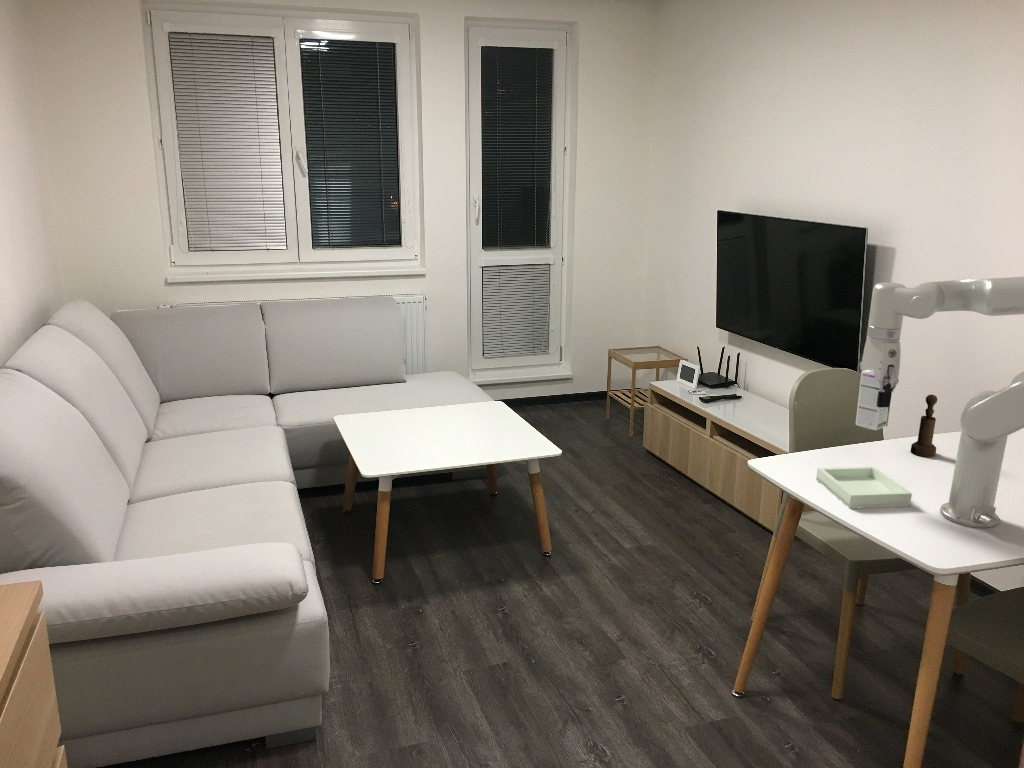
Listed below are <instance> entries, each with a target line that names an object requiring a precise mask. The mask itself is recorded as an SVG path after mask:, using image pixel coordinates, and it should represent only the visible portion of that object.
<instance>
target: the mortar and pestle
mask: <svg viewBox="0 0 1024 768" xmlns="http://www.w3.org/2000/svg"><path fill="white" fill-rule="evenodd" d="M925 402H926V405H927V408H925V415H921V417H920V422H919V429H918V436H917V441H915V442H913V443H911V446H910V453H911V454H913V455H915V456H918V457H923V458H925V457H926V458H933V457H935V456H936V453H937V447H936V446H935V445H934V444H933V439H934V433H935V426H936V421H937V418H936V417H934V416H933V415H934V413H935V409H934V406H935V405H936V404H937V403H938V397H937V396H936V395H935V394H928V395H927V396H925Z"/></svg>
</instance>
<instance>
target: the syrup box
mask: <svg viewBox="0 0 1024 768" xmlns="http://www.w3.org/2000/svg"><path fill="white" fill-rule="evenodd" d="M860 379H861V380H860V381H859V389H858V390H859V391H858V398H857V409H856V417H855V425H856V426H859V427H861V428H864V429H868V430H873V431H878V430H880V429H882V428H885V427H888V425H889V424H888V423H889V416H890V409H891V406H890V407H877V399H878V392H879V391H880V384H879V381H878V380H876V379H875V378H874V374H873V372H871V371H868V370H865V371H862V372H861V373H860ZM883 379H888V378H886V377H885V376H884V378H883ZM886 384H888V382H884V386H885V385H886Z"/></svg>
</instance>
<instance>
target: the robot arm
mask: <svg viewBox="0 0 1024 768" xmlns="http://www.w3.org/2000/svg"><path fill="white" fill-rule="evenodd" d="M960 311H963V312H966V311H967V312H975V313H978V314H981V315H984V316H990V317H995V316H996V317H997V316H1017V315H1024V276H1023V275H1022V276H1012V277H999V278H997V277H996V278H979V279H978V278H977V279H955V280H954V279H953V280H940V281H928V282H923V283H920V284H918V285H916V286H914V287H906V286H905V285H904V284H902V283H898V282H897V283H896V282H885V281H883V282H879V283H875V285H874V286H873V288H872V295H871V301H870V310H869V316H868V324H867V331H866V339H865V340H866V341H865V343H864V349H863V353H862V358H861V359H862V360H861V361H859V363H858V364H859V370H860V371H859V373H860V374H861V372H862V371H865V370H868V371H871V372H873V374H874V378H875V379H876V380H878V381H879V384H880V391H879V392H878V399H877V407H890V408H891V401H892V393H893V392H894V390H895V388H896V387H897V385H898V384H899V380H900V379H899V376H900V369H901V342H900V340H901V335H902V334H901V333H902V328H903V327H902V326H903V321H904V317H909V318H912V319H917V320H924V319H928V318H930V317H932V316H933V315H934V314H935V313H938V312H940V313H941V312H942V313H943V312H960ZM884 376H885V377H886V378H888V379H883V378H884ZM860 380H861V378H860ZM884 382H888V384H886V385H885V386H884ZM961 412H962V413H961V415H960V426H961V433H960V437H959V443H958V448H957V454H956V458H955V464H954V465H955V466H954V469H953V474H952V475H953V477H952V482H951V487H950V492H949V493H950V494H949V498H948V499H949V500H948V502H945V503H943V504H942V505H940V509H939V512H940V514H941V515H942V516H943V517H944V518H946V519H947V520H950V521H951V522H954V523H955V524H956V523H957V524H959V525H963V526H966V527H971V528H972V527H973V528H980V529H981V528H984V529H985V528H993V527H996V526H997V525H998V524H999V523H1000V522H1001V518H1000V517H999V515H998V514H997V513H996V512H997V511H996V510H997V508H996V506H995V503H996V497H997V491H998V487H999V481H1000V476H1001V471H1002V465H1003V461H1004V457H1005V450H1006V445H1007V442H1008V436H1010V435H1012V434H1014V433H1016V432H1019V431H1020V430H1022V429H1024V371H1022V372H1020V373H1019V374H1016V376H1015V377H1014V378H1013V379H1012V380H1011V382H1010V384H1009V385H1007V386H1005V387H1004V388H1002V389H1000V390H998V391H994V390H983V391H979V392H977V393H975V394H973V396H971V397H970V398H969V399H968V401H967V402H966V404H965V406H964V408H963V410H962V411H961Z"/></svg>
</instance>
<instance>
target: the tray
mask: <svg viewBox="0 0 1024 768" xmlns="http://www.w3.org/2000/svg"><path fill="white" fill-rule="evenodd" d="M816 469H817V470H816V476H815V481H816V480H817V481H816V482H818V481H819V482H820V483H821V484H822V485H824V486H825V487H826V488H827V489H828V490H829V491H830V492H831V494H832V495H833V496H834V495H835V496H836V497H837V498H838V499H837V498H836V497H835V496H834V497H835V498H836V499H837V500H839V499H840V500H841V501H840V500H839V501H840V502H841V503H842V502H843V503H844V504H845V505H844V504H843V503H842V504H843V505H844V506H846V507H847V506H848V507H849V508H848V507H847V508H848V509H865V508H864V507H868V508H867V509H871V507H875V508H900V507H901V508H902V507H905V508H906V507H911V503H912V495H913V493H912V492H911V491H910V490H908V489H907V488H905V487H904V486H902V485H901V484H899V483H898V482H896V481H895V480H894V479H893V478H891V477H889V475H887V474H885V473H884V472H883V471H881V470H880V469H878V468H877V467H875V465H874V466H873V465H871V466H844V467H843V466H842V467H837V466H835V467H817V468H816ZM819 482H818V483H819ZM820 483H819V484H820ZM821 484H820V485H821ZM822 485H821V486H822ZM825 487H824V488H825ZM826 488H825V489H826ZM827 489H826V490H827ZM828 490H827V491H828ZM829 491H828V492H829ZM830 492H829V493H830ZM859 507H860V508H859ZM875 508H874V509H875Z"/></svg>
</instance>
